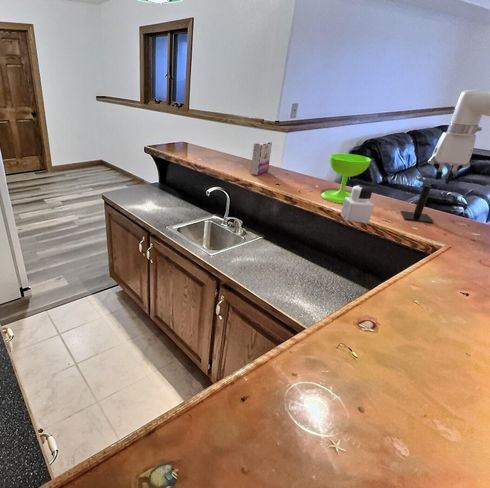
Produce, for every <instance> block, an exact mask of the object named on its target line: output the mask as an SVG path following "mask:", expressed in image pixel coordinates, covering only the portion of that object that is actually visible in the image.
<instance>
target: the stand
mask: <svg viewBox="0 0 490 488" xmlns="http://www.w3.org/2000/svg"><path fill="white" fill-rule="evenodd" d="M431 189H432V185H430V184H424V185H423V186H422V189H421V192H420V195H419V197H418V200H417V203H416V205H415V208H414V211H408V210H407V211H406V210H400V214H401V216H402V218H403V219H404V221H408V222H409V221H410V222H417V223H423V224H430V225H433V224H434V221H433V219H431V217H430V215H429V214H428V213H424V212H423V211H424V208H425V205H426V202H427V200H428V197H429V195H430V192H431Z"/></svg>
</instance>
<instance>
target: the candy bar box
mask: <svg viewBox="0 0 490 488" xmlns="http://www.w3.org/2000/svg"><path fill="white" fill-rule="evenodd" d="M272 145H273V142H272V141H268V140H263V141H259V142H256V143H253V148H252V149H253V150H252V158H251V167H250V175H252V174H254V175H253V176H257V175H258V176H261V175H263V174H266V173H269V169H270V168H269V167H270V159H271V153H272Z"/></svg>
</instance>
